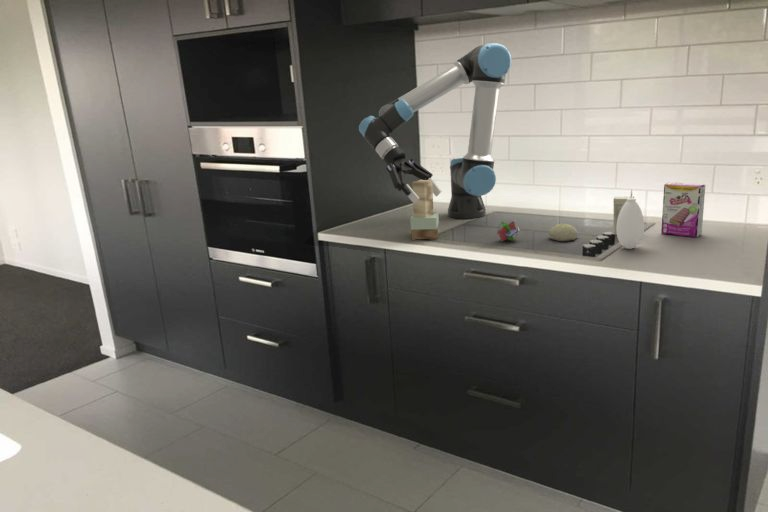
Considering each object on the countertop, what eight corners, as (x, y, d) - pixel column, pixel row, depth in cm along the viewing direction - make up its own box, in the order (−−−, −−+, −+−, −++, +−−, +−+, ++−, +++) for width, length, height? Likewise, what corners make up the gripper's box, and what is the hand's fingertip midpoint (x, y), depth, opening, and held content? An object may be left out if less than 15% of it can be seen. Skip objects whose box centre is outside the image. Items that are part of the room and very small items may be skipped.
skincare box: (634, 232, 208) (635, 196, 204) (633, 235, 204) (634, 198, 201) (613, 231, 210) (614, 196, 207) (612, 235, 207) (613, 198, 203)
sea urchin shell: (578, 229, 210) (578, 216, 203) (577, 249, 206) (576, 237, 199) (550, 228, 212) (549, 216, 206) (548, 249, 209) (547, 237, 202)
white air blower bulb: (640, 252, 185) (643, 192, 180) (613, 250, 189) (614, 191, 184) (645, 246, 191) (648, 187, 187) (618, 244, 195) (620, 186, 191)
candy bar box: (660, 234, 204) (663, 184, 199) (666, 231, 207) (668, 181, 203) (697, 238, 196) (700, 186, 192) (702, 234, 200) (706, 183, 195)
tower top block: (438, 223, 224) (438, 212, 223) (436, 229, 216) (436, 217, 215) (414, 223, 226) (413, 213, 225) (410, 229, 217) (410, 218, 216)
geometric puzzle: (500, 239, 203) (512, 217, 203) (488, 235, 209) (500, 214, 209) (515, 249, 206) (527, 228, 206) (502, 244, 212) (514, 224, 212)
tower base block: (438, 233, 226) (437, 223, 225) (437, 240, 217) (437, 228, 216) (413, 234, 227) (412, 224, 226) (412, 241, 218) (411, 229, 217)
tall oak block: (421, 213, 223) (420, 179, 220) (433, 214, 220) (432, 180, 217) (413, 216, 220) (412, 182, 216) (425, 217, 217) (424, 182, 213)
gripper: (406, 156, 234) (441, 197, 228) (363, 165, 215) (400, 211, 210) (417, 141, 229) (453, 184, 224) (374, 150, 210) (412, 196, 205)
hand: (428, 197), depth 217 cm, fingers open, 13 cm apart
